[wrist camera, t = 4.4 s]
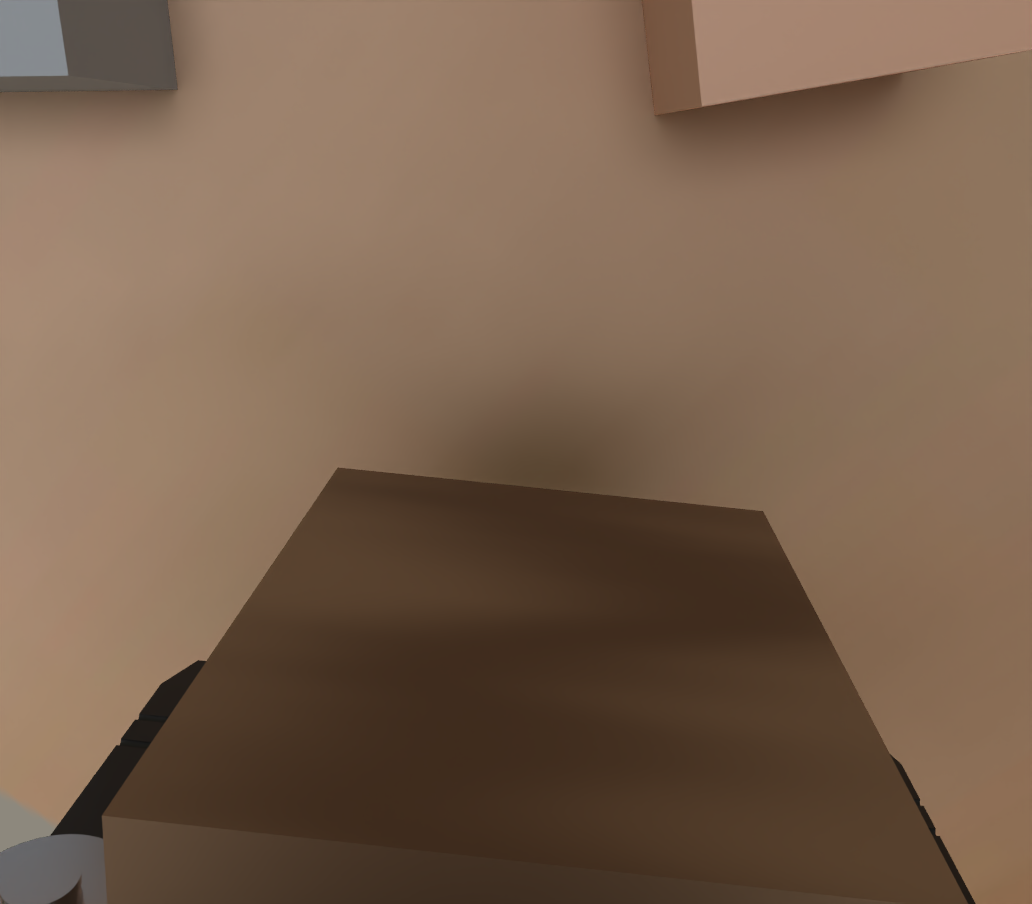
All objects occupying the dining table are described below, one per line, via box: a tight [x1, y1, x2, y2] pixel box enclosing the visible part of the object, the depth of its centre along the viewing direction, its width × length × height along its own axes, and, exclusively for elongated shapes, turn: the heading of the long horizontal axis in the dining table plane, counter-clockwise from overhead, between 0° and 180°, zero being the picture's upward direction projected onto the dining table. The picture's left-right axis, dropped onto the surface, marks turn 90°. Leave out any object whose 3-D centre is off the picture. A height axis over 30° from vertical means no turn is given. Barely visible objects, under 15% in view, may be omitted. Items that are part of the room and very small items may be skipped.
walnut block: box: [102, 468, 968, 904], centre depth 9 cm, size 5×5×6 cm
